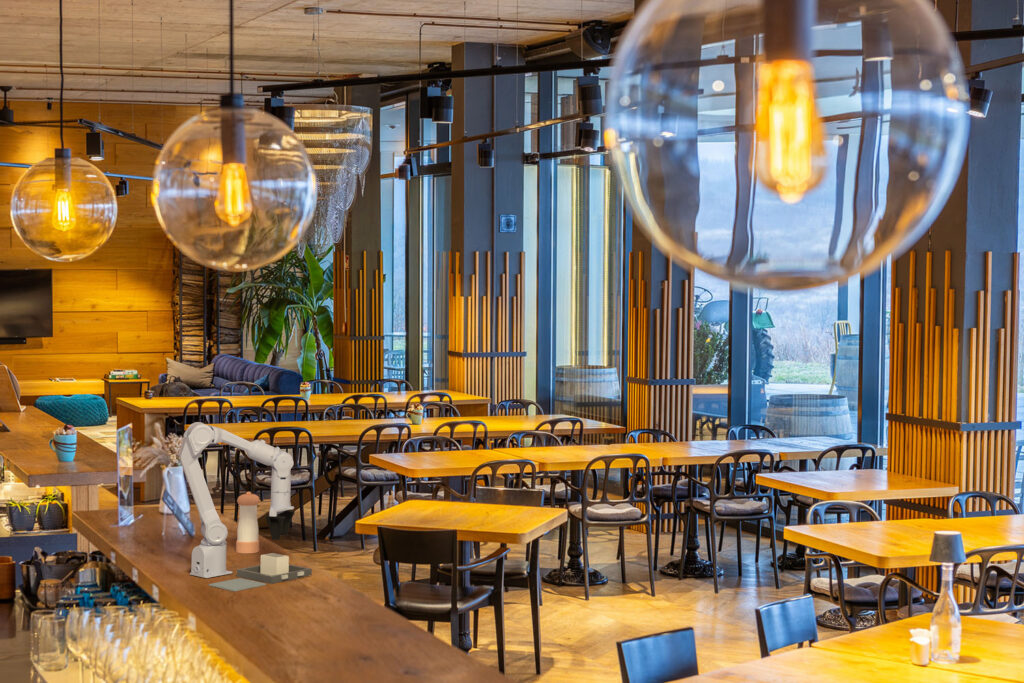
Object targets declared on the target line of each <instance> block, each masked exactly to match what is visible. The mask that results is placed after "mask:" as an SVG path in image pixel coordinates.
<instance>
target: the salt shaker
mask: <svg viewBox="0 0 1024 683" xmlns="http://www.w3.org/2000/svg"><path fill="white" fill-rule="evenodd" d="M236 502H237V504H238V505H239V516H238V518H239V519H238V523H237V529H236V533H237V534H236V536H237V540H236V541H235V553H238V554H255V553H259V552H260V539H259V529H260V528H259V521H258V505H259V503H260V497H259V496H258V495H257V494H255V493H252V492H251V491H246V493H243V494H241V495H240V496H238V497H237V500H236Z"/></svg>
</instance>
